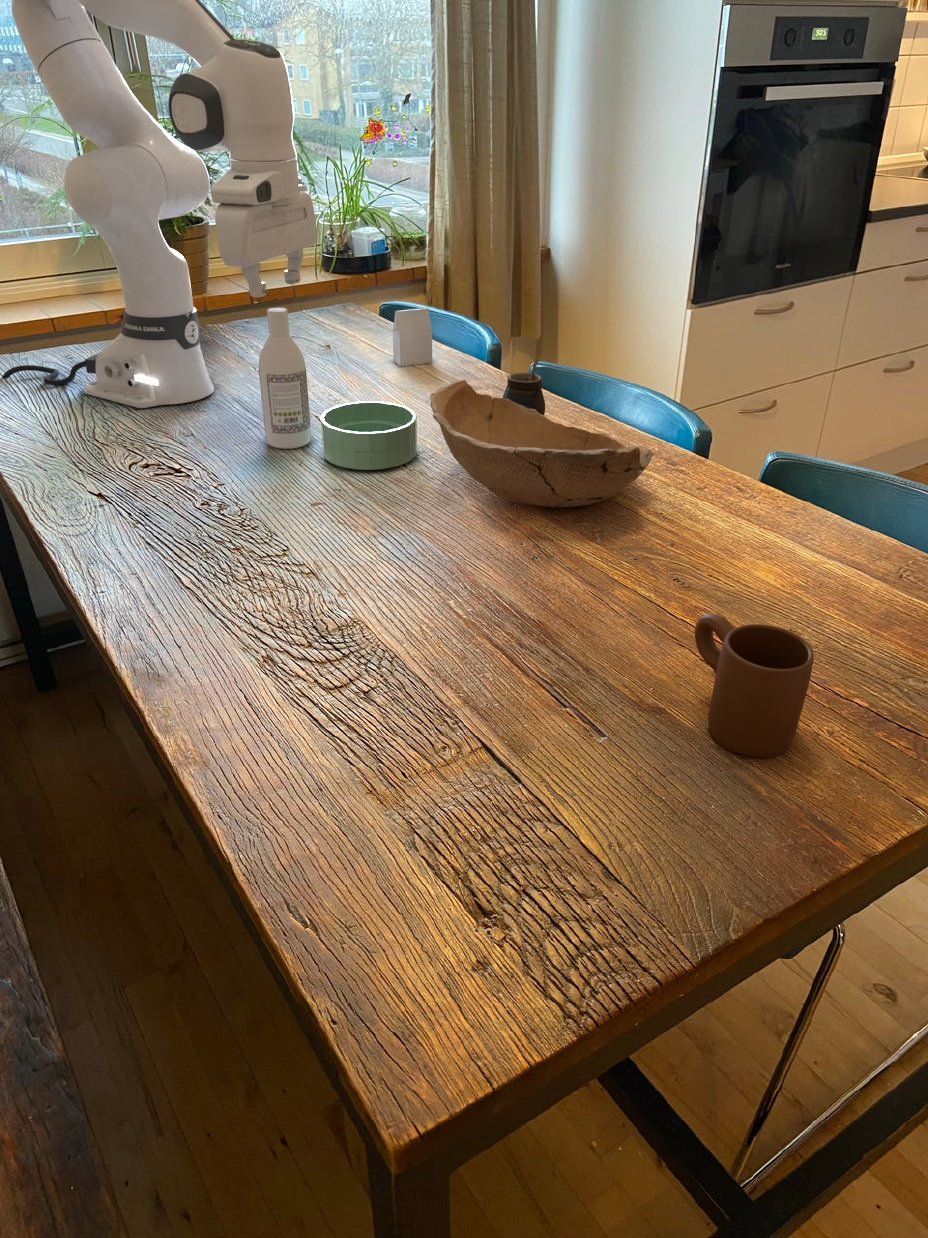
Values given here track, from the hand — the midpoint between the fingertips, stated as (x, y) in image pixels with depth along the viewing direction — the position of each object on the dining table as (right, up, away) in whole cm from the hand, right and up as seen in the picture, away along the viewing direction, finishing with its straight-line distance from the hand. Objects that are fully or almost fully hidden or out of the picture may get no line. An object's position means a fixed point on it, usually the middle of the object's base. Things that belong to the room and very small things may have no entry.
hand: (276, 289), depth 130 cm
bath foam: (0, -20, +12) cm, 23 cm away
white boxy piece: (+17, +4, +50) cm, 53 cm away
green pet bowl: (+13, -22, +8) cm, 27 cm away
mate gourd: (+36, -15, +20) cm, 44 cm away
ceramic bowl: (+37, -29, -2) cm, 47 cm away
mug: (+51, -56, -46) cm, 89 cm away
